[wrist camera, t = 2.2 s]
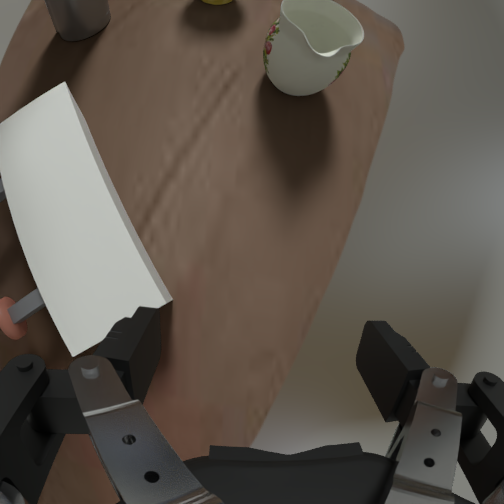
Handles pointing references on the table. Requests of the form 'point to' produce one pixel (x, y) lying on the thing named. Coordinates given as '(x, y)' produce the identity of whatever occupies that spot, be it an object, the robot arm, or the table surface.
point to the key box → (73, 222)
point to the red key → (19, 313)
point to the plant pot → (217, 1)
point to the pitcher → (310, 45)
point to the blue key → (2, 191)
